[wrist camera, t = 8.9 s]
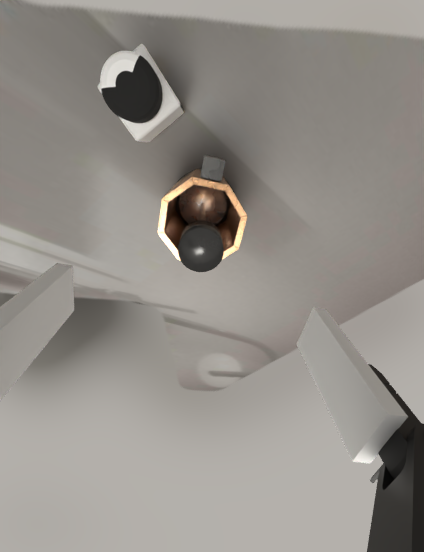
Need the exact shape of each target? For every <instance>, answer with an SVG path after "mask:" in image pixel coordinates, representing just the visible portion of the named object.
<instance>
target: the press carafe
mask: <svg viewBox="0 0 424 552" xmlns="http://www.w3.org/2000/svg"><path fill="white" fill-rule="evenodd" d="M225 162H226V161H225V160H223V159H221V158H217V157H213V156H209V155H204V159H203V165H202V170H199V169H195V170H194V171H192V172H190V173H188V174H186V175H185V176H183V177H182V178H181V179H180V180H179V181H178V182H177V183H176V184H175V185H174V186H173V187H172V188H171V189H170V190H169V191H168V193H167V194H166V195H165V196H164V197H163V198H162V203H161V211H160V219H159V227H158V234H159V236H160V237H161V238H162V240H163V241H164V242H165V244H166V245H167V246H168V247H169V249H170V250H171V251H172V253H173V254H174V255H175V256H176V258H177V259H179V260H180V258H179V255H178V246H179V242H180V238H181V235H182V232H183V230H184V229H185V227H186V226H187V225H188V224H189V223H187V222H186V221H185V219H184V218H183V217H182V215H181V212H180V208H179V200H180V196H181V194H182V192H183V191H185V190H186V189H187V188H189V187H190V186H192V185H193V184H195V185H200V186H205V187H209V188H214V189H218V190H222V191H223V193H224V195H225V197H226V203H227V207H226V212H225V215H224V217H223V218H222V220H221V221H220V222H219V223H218V224H216V225H215V226H216V227H217V228H218V229H219V231H220V233H221V236H222V242H223V247H224V254H223V258H225V257H226V256H228V255H230V254H231V253H233V252H235V251H236V250H238V248H239V246H240V242H241V238H242V235H243V231H244V227H245V224H246V220H247V215H246V213H245V211H244V210H243V208H242V206H241V204H240V203H239V201H238V199H237V198H236V196H235V194H234V193H233V191H232V189H231V187H230V185H229V184H228V182H227V181H226V180H225V179H224V177H223V172H224V167H225ZM223 258H222V259H223ZM180 261H181V260H180Z"/></svg>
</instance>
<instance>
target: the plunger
mask: <svg viewBox="0 0 424 552" xmlns="http://www.w3.org/2000/svg"><path fill="white" fill-rule="evenodd" d="M226 207H227V203H226V197H225V195H224V193H223V191H222V190H218V189H214V188H209V187H205V186H200V185H195V184H193V185H192V186H190V187H189V188H187V189H186V190H185V191H183V192H182V194H181V196H180V200H179V208H180V212H181V215H182V217H183V218H184V219H185V221H186V222H187V223H189V224H188V225H187V226H186V227H185V229H184V230H183V232H182V235H181V238H180V242H179V246H178V255H179V258H180V260H181V262H182V263H183V264H184V265H185V266H186V267H187V268H189V269H190V270H193V271H196V272H206V271H209V270H212V269H214V268H215V267H216V266H217V265H218V264H219V263H220V262H221V260H222V258H223V254H224V247H223V242H222V236H221V233H220V231H219V229H218V228H217V227H216V226H215V225H216V224H218V223H219V222H220V221H221V220H222V218H223V217H224V215H225V212H226Z"/></svg>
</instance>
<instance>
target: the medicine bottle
mask: <svg viewBox="0 0 424 552" xmlns="http://www.w3.org/2000/svg"><path fill="white" fill-rule="evenodd" d="M98 89H99V91H100V92H101V93H102V95H103V97H104V100H105V102H106V104H107V105H108V107H109V108H110V109H111V110H112V111H113V112H114V113H115V114H116V115H117V116H118V117H119V118H120V119H121V121H122V122H123V124H124V125H125V126H126V128H127V129H128V130H129V132H130V133H131V135H132V136H133V137H134V139H135V140H136V141H140V142H147V143H148V142H150V141H151V140H152V139H154V138H155V137H156V136H157V135H158V134H160V133H161V132H162V131H163V130H164V129H166V128H167V127H168V126H169V125H170V124H172V123H173V122H174V121H175V120H176V119H178V118H179V117H180V116H181V115H182V114H183V113H184V109H183V107H182V105H181V103H180V102H179V100H178V98H177V97H176V95H175V94H174V92H173V90H172V89H171V87H170V86H169V84H168V82H167V81H166V79H165V78H164V76H163V74H162V73H161V71H160V70H159V68H158V66H157V65H156V63H155V62H154V60H153V58H152V57H151V55H150V54H149V52H148V50H147V49H146V47H145V46H144V45H143V44H140V45H139V46H138V47H137V48H136V49H135V50H134V51H133V52H132V51H119V52H117V53H114V54H113V55H111V56H110V57H109V58H108V59H107V61H106V62H105V64H104V65H103V68H102V71H101V77H100V83H99V84H98Z"/></svg>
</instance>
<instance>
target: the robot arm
mask: <svg viewBox="0 0 424 552" xmlns="http://www.w3.org/2000/svg"><path fill="white" fill-rule="evenodd" d="M73 311H74V289H73V266H71V265H65V264H59V263H57V264H55V265H54V266H53V267H52V268H50V269H49V270H48V271H46V272H45V273H44V274H42V275H41V276H40V277H39V278H37V279H36V280H35V281H33V282H32V283H31V284H29V285H28V286H27V287H26V288H24V289H23V290H22V291H20V292H19V293H18V294H16V295H15V296H14V297H13V298H11V299H10V300H9V301H7V302H6V303H5V304H4V305H2V306H1V307H0V401H1V400H2V399H3V397H4V396H5V395H6V394H7V392H8V391H9V390H10V389H11V388H12V386H13V385H14V384H15V382H16V381H17V380H18V379H19V378H20V376H21V375H22V374H23V373H24V372H25V370H26V369H27V368H28V367H29V365H30V364H31V363H32V362H33V360H34V359H35V358H36V357H37V356H38V354H39V353H40V352H41V351H42V349H43V348H44V347H45V346H46V344H47V343H48V342H49V341H50V339H51V338H52V337H53V336H54V335H55V333H56V332H57V331H58V330H59V328H60V327H61V326H62V325H63V323H64V322H65V321H66V320H67V319H68V317H69V316H70V315H71V314H72V312H73ZM297 346H298V348H299V350H300V353H301V355H302V356H303V359H304V361H305V363H306V365H307V367H308V369H309V371H310V373H311V376H312V378H313V380H314V382H315V384H316V386H317V388H318V390H319V393H320V394H321V397H322V399H323V401H324V403H325V405H326V407H327V409H328V411H329V413H330V416H331V418H332V419H333V422H334V424H335V426H336V428H337V430H338V432H339V434H340V437H341V438H342V441H343V443H344V445H345V447H346V449H347V451H348V454H349V456H350V457H351V460H352V461H353V462H363V463H371V462H372V461H373V460H374V458H375V457H376V456H377V455H378V454H379V455H380V457H381V459H382V461H383V462H384V463H383V465H382V466H381V467H380V468H379V469H378V471H377V472H376V473H375V474H374V475H373V477H372V478H371V480H370V481H371V482H372V483H374V482H375V480H376V479H378V483H377V490H376V496H375V503H374V510H373V516H372V523H371V529H370V535H369V542H368V549H367V552H424V424H422V423H421V422H420V421H419V420H418V419H417V418H416V416H415V415H414V414H413V413H412V411H411V410H410V409H409V407H408V406H407V405H406V404H405V402H404V401H403V400H402V399H401V397H400V396H399V395H398V394H396V391H395V390H394V388H393V387H392V386H391V385H389V382H388V381H387V380H386V378H385V377H384V376H383V375H382V373H380V372H379V371H378V370H377V369H376V368H374V367H373V366H372V365H369V364H367V362H366V361H365V360H364V358H363V357H362V356H361V354H360V353H359V352H358V351H357V349H356V348H355V347H354V345H353V344H352V343H351V341H350V340H349V339H348V337H347V336H346V335H345V333H344V332H343V331H342V330H341V329H340V327H339V326H338V324H337V323H336V322H335V320H334V319H333V318H332V316H331V315H330V314H329V313H328V311H327V310H326V309H322V308H317V307H313V309H312V311H311V313H310V315H309V318H308V320H307V322H306V324H305V327H304V329H303V331H302V333H301V336H300V338H299V340H298V342H297Z"/></svg>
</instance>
